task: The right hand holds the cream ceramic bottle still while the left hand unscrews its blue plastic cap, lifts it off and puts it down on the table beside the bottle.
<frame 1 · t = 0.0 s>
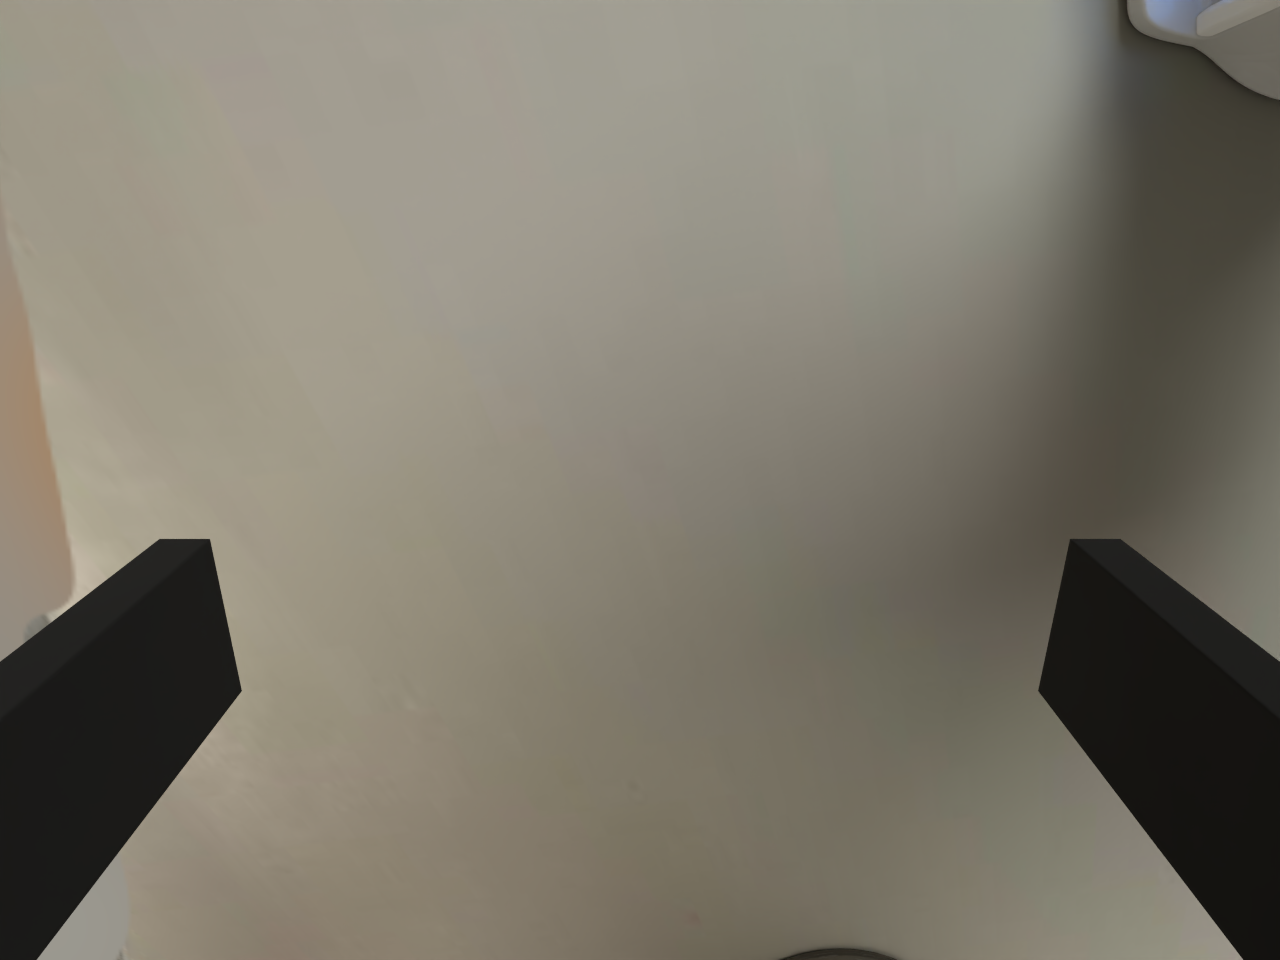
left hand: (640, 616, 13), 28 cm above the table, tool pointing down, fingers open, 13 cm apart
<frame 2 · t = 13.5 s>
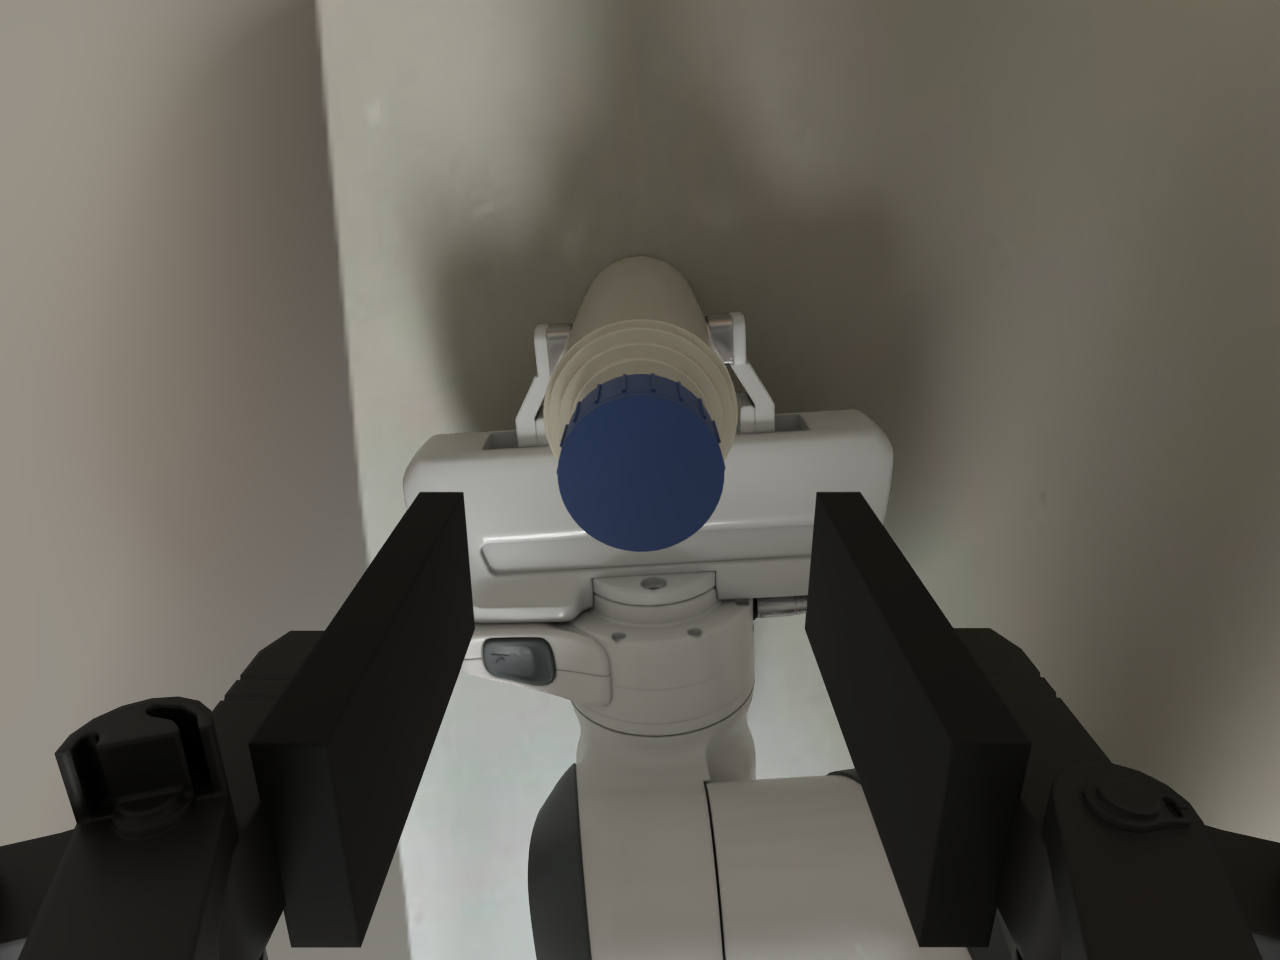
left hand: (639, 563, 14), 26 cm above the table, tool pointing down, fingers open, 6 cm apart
right hand: (637, 320, 32), fingers closed on bottle, 5 cm apart
cap: (640, 472, 19), point 21 cm above the table, screwed on, not yet turned
bottle: (640, 315, 39), on the table, touching right hand
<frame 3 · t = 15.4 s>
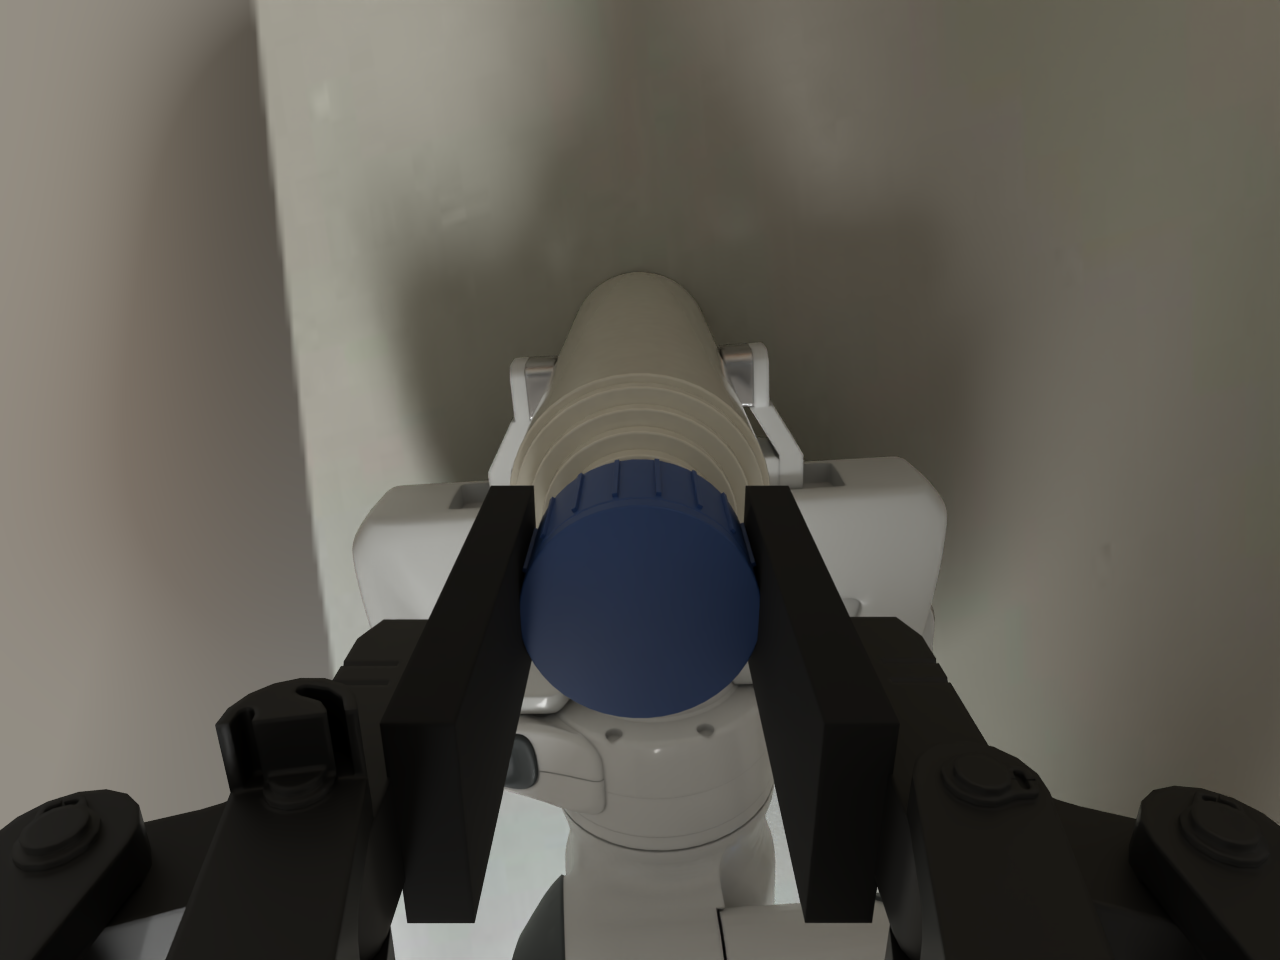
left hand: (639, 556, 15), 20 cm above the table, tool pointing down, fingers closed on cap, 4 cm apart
cap: (640, 608, 13), point 21 cm above the table, screwed on, not yet turned, touching left hand
bottle: (639, 340, 33), on the table, touching right hand
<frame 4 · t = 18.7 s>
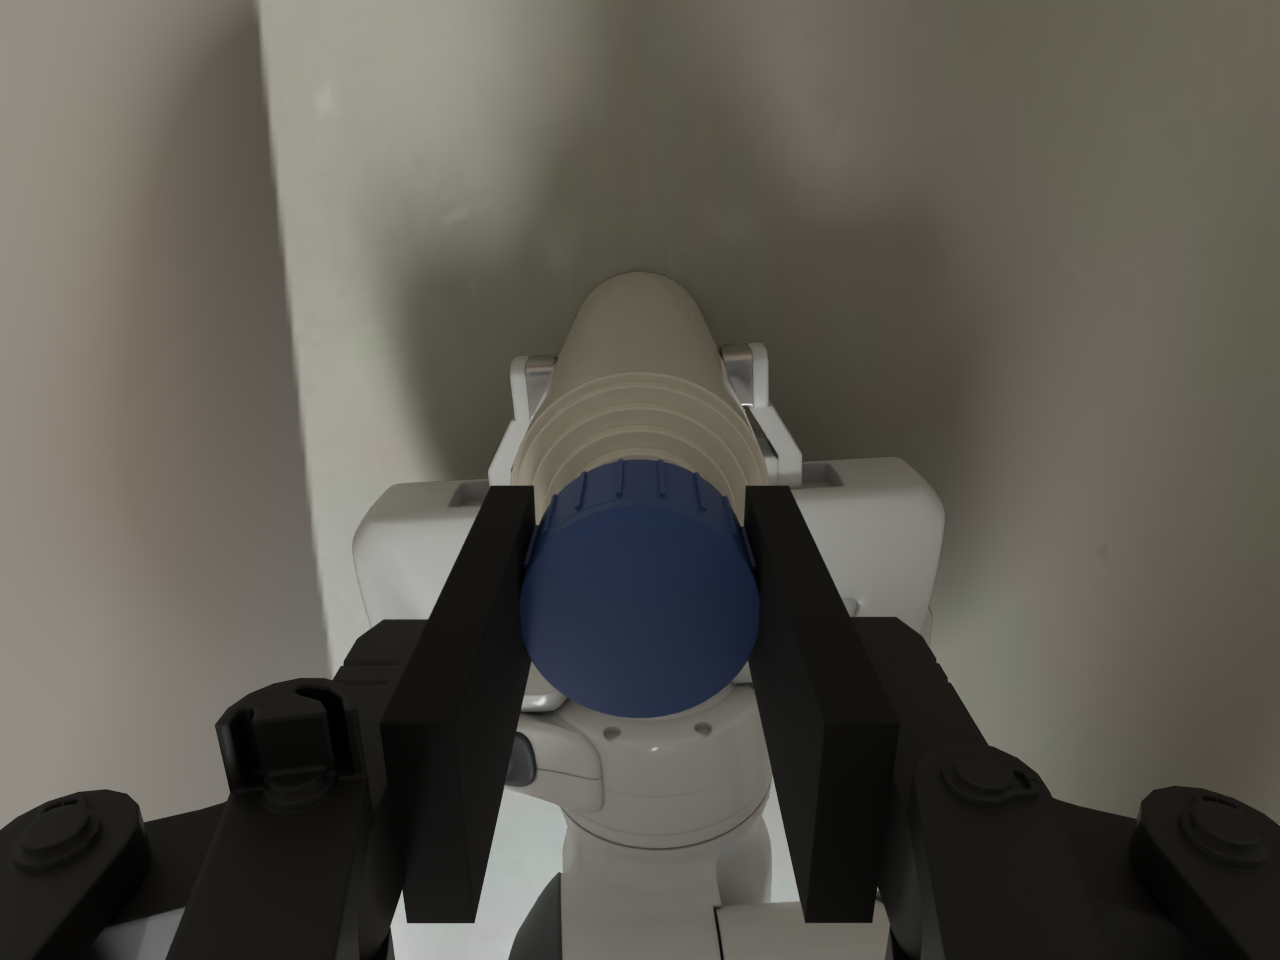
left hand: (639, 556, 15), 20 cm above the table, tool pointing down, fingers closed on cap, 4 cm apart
cap: (639, 608, 13), point 21 cm above the table, turned 98° so far, risen 0.1 cm, still on its thread, touching left hand
bottle: (639, 340, 33), on the table, touching right hand
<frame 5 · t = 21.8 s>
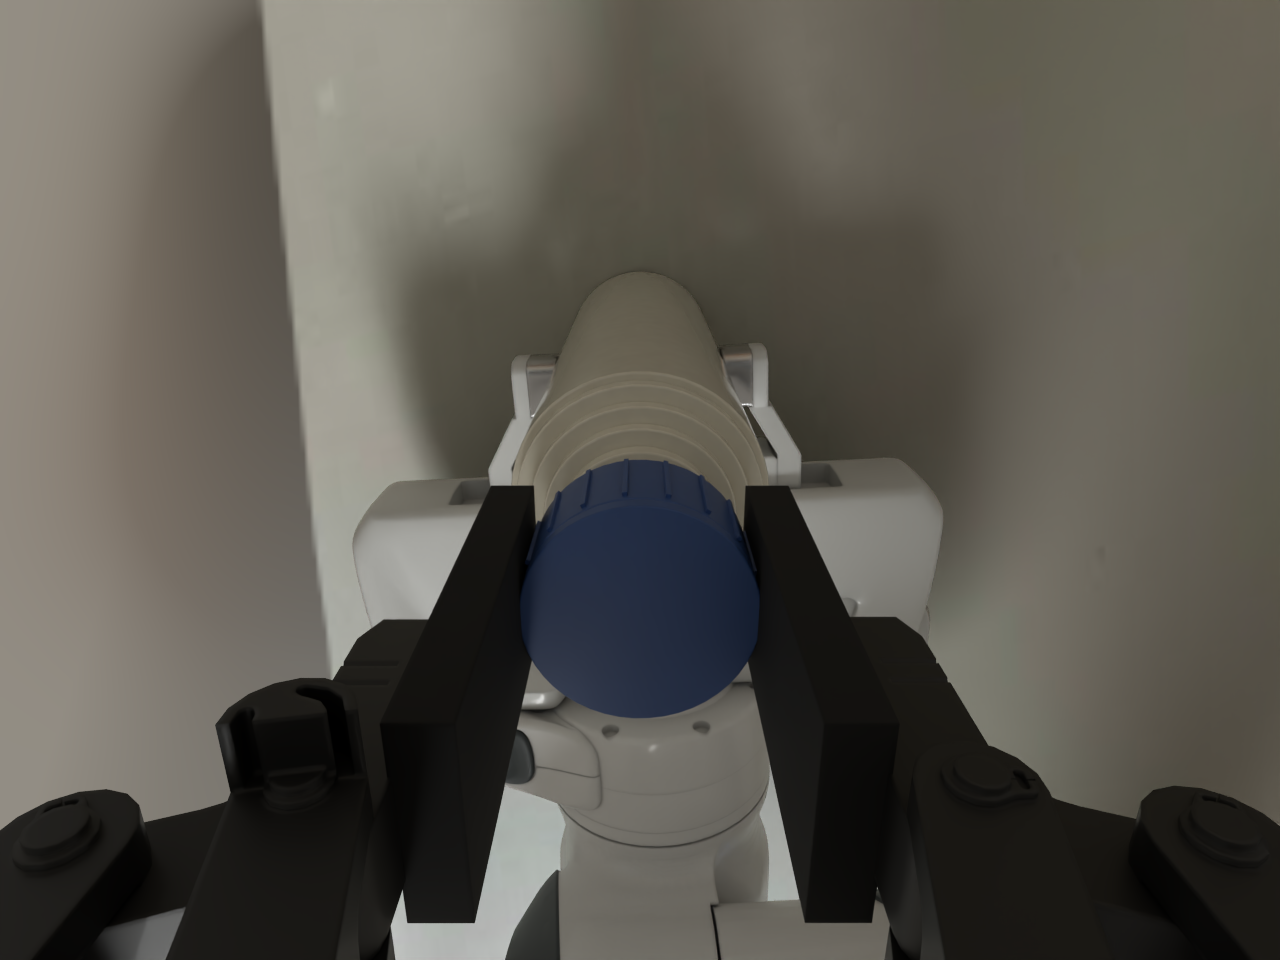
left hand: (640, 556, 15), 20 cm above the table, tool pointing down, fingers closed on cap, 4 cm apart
cap: (640, 608, 13), point 22 cm above the table, turned 196° so far, risen 0.2 cm, still on its thread, touching left hand
bottle: (640, 340, 33), on the table, touching right hand
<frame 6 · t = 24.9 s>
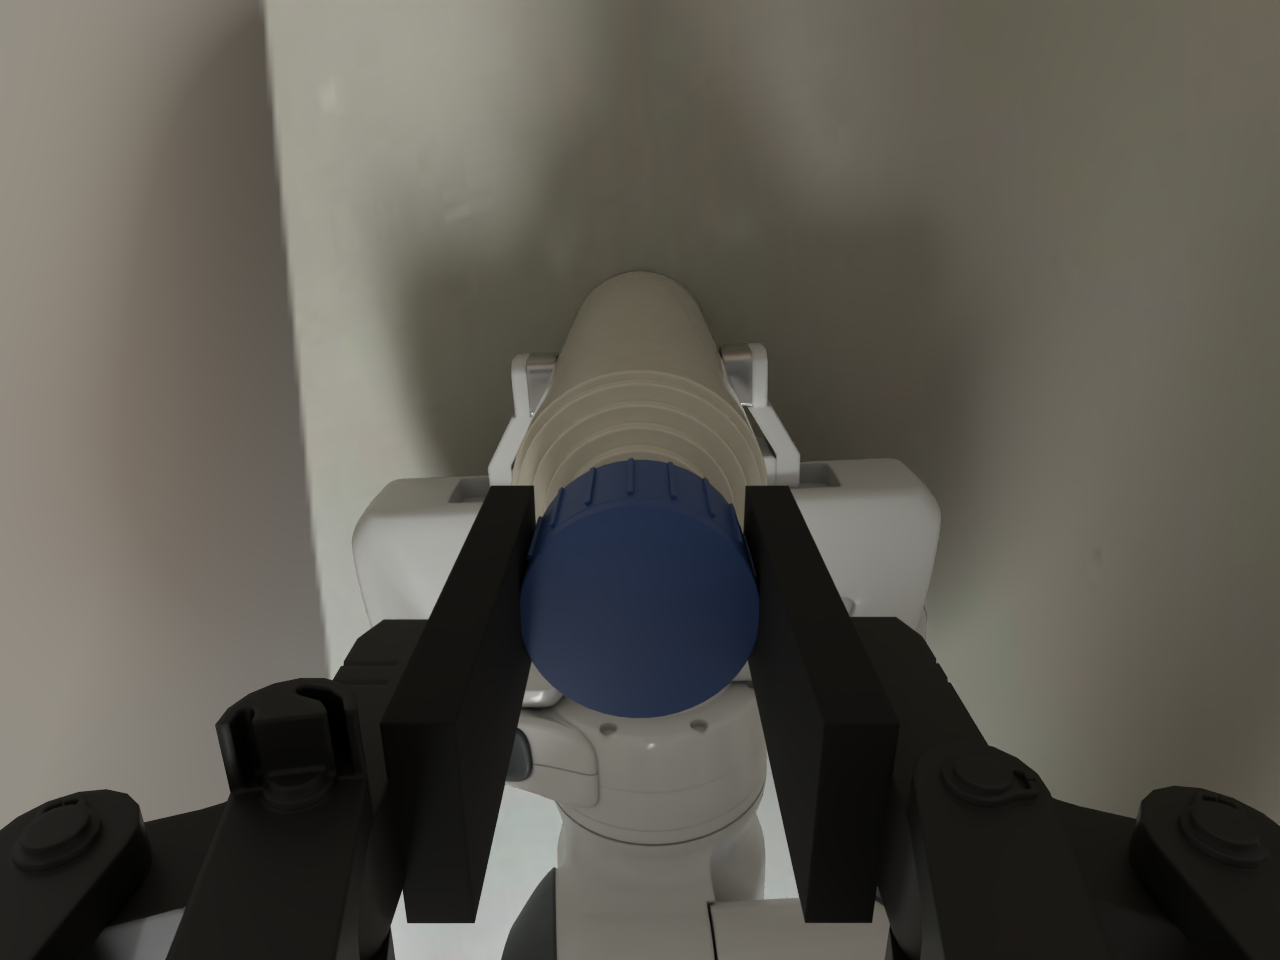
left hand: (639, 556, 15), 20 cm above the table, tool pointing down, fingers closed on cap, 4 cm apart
cap: (639, 608, 13), point 22 cm above the table, turned 294° so far, risen 0.3 cm, still on its thread, touching left hand
bottle: (639, 339, 33), on the table, touching right hand
when the left hand's fingers open (1 cm above the table, at t = 30.7 s): cap drops 1 cm, point 2 cm above the table.
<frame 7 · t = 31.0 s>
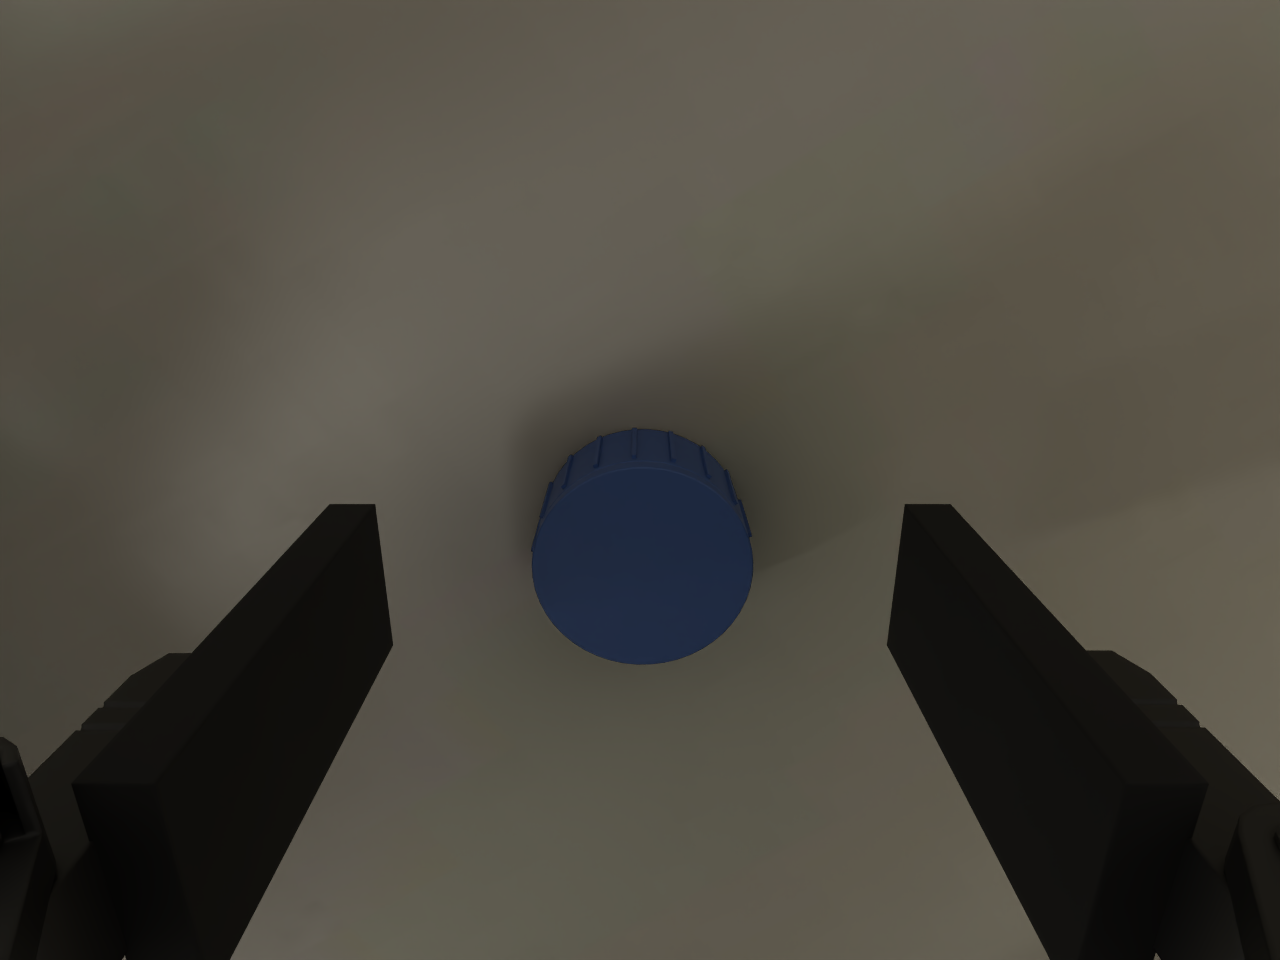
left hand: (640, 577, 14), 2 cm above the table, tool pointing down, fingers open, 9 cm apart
cap: (642, 563, 14), point 2 cm above the table, off its thread
when the right hand's fingers open (6 cm above the table, at t = 32.0 s): bottle stays where it is, on the table.
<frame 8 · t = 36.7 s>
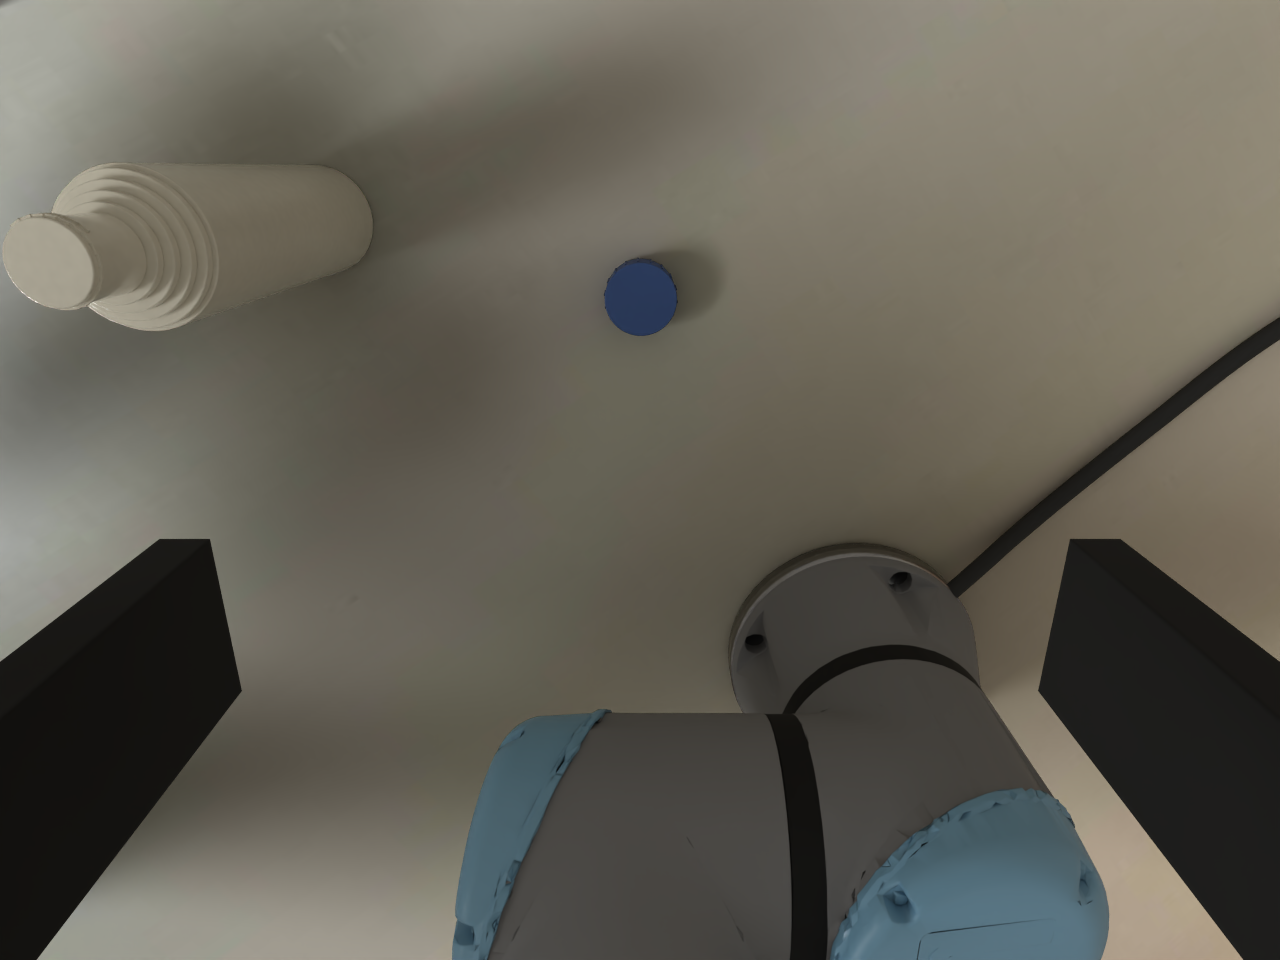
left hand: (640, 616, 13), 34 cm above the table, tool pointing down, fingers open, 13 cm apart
cap: (640, 299, 43), point 2 cm above the table, off its thread
bottle: (321, 220, 43), on the table
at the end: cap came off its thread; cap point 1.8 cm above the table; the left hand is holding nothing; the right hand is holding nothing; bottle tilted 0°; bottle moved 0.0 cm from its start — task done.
